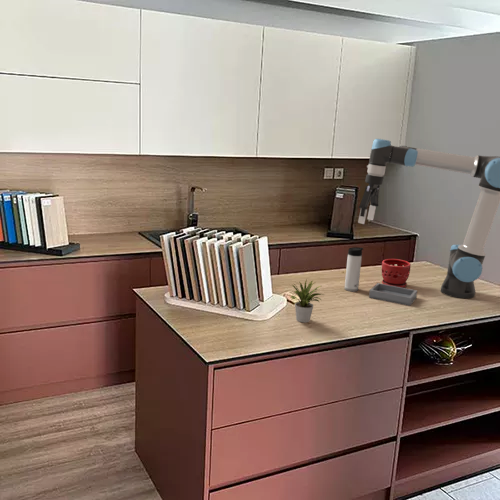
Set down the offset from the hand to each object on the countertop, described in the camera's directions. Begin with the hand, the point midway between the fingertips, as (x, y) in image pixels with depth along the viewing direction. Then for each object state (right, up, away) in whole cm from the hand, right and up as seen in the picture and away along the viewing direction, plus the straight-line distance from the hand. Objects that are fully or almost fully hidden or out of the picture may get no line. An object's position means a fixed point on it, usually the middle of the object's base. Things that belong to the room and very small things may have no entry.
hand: (365, 221), depth 252 cm
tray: (+12, -34, -2) cm, 36 cm away
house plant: (-32, -40, -36) cm, 63 cm away
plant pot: (+16, -30, +16) cm, 38 cm away
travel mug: (-5, -31, +7) cm, 32 cm away
